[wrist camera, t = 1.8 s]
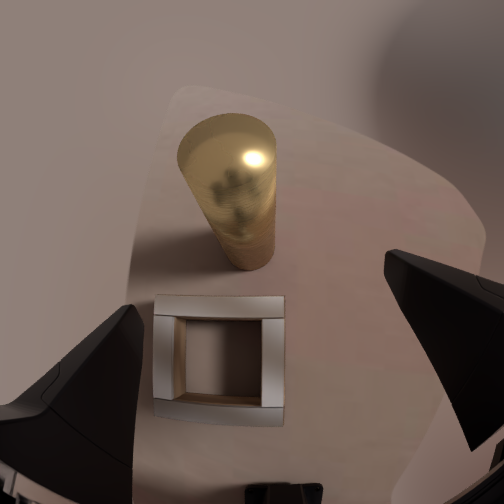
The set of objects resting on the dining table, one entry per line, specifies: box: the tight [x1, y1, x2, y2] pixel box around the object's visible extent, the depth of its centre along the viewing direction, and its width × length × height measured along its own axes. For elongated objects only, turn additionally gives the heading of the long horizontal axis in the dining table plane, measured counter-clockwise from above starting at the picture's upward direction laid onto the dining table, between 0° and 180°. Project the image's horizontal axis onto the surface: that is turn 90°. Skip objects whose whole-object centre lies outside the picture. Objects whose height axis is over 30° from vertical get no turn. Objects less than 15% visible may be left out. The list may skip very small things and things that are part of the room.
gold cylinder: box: [177, 113, 276, 270], centre depth 16 cm, size 4×4×12 cm
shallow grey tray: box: [153, 294, 285, 427], centre depth 18 cm, size 9×9×3 cm
